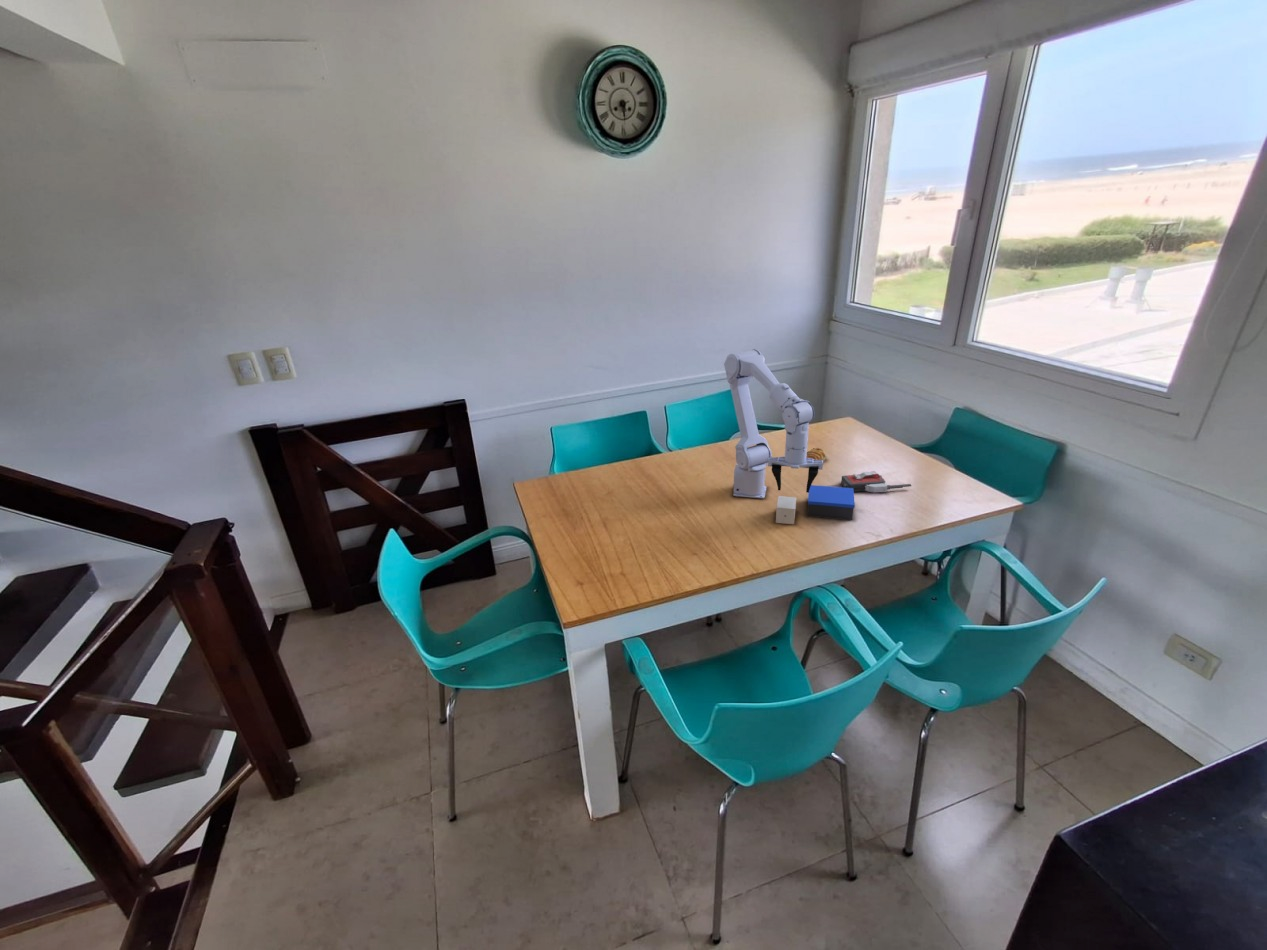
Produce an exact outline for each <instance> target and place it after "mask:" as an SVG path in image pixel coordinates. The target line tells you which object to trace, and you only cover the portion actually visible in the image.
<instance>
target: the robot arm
mask: <svg viewBox="0 0 1267 950" xmlns="http://www.w3.org/2000/svg"><path fill="white" fill-rule="evenodd" d="M723 366H724V370H725V375H726V379H727V383H729V388H730V393H731V396H732V402H733V407H734V411H735V416H736V420H737V424H738V429H739V434H740V437H741V438H740V439H739V441H738V442H737V443H736V445H735V446H734V448H735V449H734V450H735V462H736V464H735V466H734V471H733V473H734V474H733V496H734V497H737V498H739V497H740V498H753V499H762V500H763V499H765V498H766V493H767V485H765V482H766V467H771V473H772V475H773V476H774V478H775V479H774V480H775V482H776V485H777V491H781V490H782V467H788V468H789V467H790V468H791V469H796V470H797V469H799V468H804V469H805V468H806V469H808V473H807V482H806V488H805V489H806V490H805V491H806V492H805V493H808V494H809V489H810V486H811V485H813V482H814V480H815V479H816V477H818V474H819V470H820V471H821V470H824V469H823V468H824V461H823V460H815V459H810V458H806V456H807V452H808V443H809V442H808V441H809V430H810V429H809V427H810V422H811V421H813V420H814V418H815V414H816V413H815V407H814V406H813V404H812V403H811V401H810V400H807V399H803V398H800V397H799V396H798V395H797V394H796V393H795V392H794V391H793V389H791V388H790V386H789V384H787V383H784V382H780V381H778V379H777V377H776V376H775V375H774V374H773V372H772V371H771V370H770V368H769V367H768V366H767V365H766V359H765V355H763V354H762V353H761V351H760V350H759V349H757V348H753V349H751V350H750V349H749V350H746V351H741V352H736V353H729V354H728V355H727V356H726V359H725V360H724V362H723ZM753 377H754V378H755V379H756V380H757V381H758V382H759V383H760V384H761V385H762V386H763V387H764V388H765V389H766V390H767V391H768V392H769V394H768V396H769V399H770V400H771V402H772V403H773V404H774V405H775V406H776V407H777V408H778V410H780V412H781V417H782V420H783V422H784V423H783V424H784V430H785V445H784V446H785V447H784V456H776V457H773V454H772V449H771V447H770V445H769V443H768V440H767V438H765V437H764V436H762V435H761V434H759V429H758V424H757V419H756V415H755V410H754V405H753V402H752V397H751V393H750V392H751V391H750V387H749V383H750V381H751V379H752V378H753Z"/></svg>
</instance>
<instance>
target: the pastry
mask: <svg viewBox="0 0 1267 950" xmlns="http://www.w3.org/2000/svg"><path fill="white" fill-rule="evenodd" d="M806 458H810V459H815V460H823V462H825V461H826V459H827V458H828V456H827V454H826V452H825V450H824V449H822V448H821V447H813V448H812V449H810V450H807V456H806Z"/></svg>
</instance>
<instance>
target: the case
mask: <svg viewBox="0 0 1267 950" xmlns="http://www.w3.org/2000/svg"><path fill="white" fill-rule="evenodd" d="M776 502H777V503H776V510H775V511H776V512H775V514H776V515H775V523H776V524H783V525H784V524H787V525H795V519H796V507H797V497H795V496H783V495H778V496H777V501H776Z"/></svg>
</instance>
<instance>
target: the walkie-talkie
mask: <svg viewBox="0 0 1267 950" xmlns="http://www.w3.org/2000/svg"><path fill="white" fill-rule="evenodd" d="M840 484H841V485H842V487H843V488H853V490H854V493H855V492H870V493H886V492H888V490H891V489H892V490H893V489H903V488H907V487H912V484H911V483H903V484H892V485H890V484H886V480H885V479H884V478H883V476H882V475H880V474H879V473H877V472H876V471H874V470H873V471H863V472H862V473H860V474H856V473H853V474H847V475H841V481H840Z"/></svg>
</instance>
